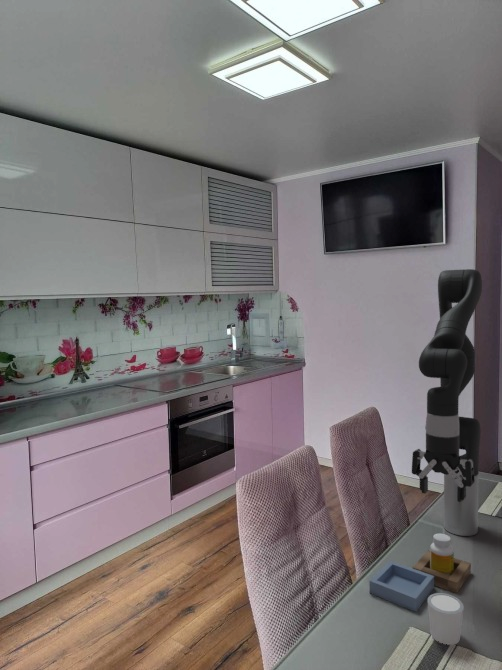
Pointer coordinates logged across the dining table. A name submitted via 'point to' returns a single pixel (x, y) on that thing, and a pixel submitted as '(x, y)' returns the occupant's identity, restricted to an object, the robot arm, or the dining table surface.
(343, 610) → the dining table surface
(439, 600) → the shot glass
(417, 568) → the collar
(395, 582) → the tray
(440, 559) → the supplement bottle
